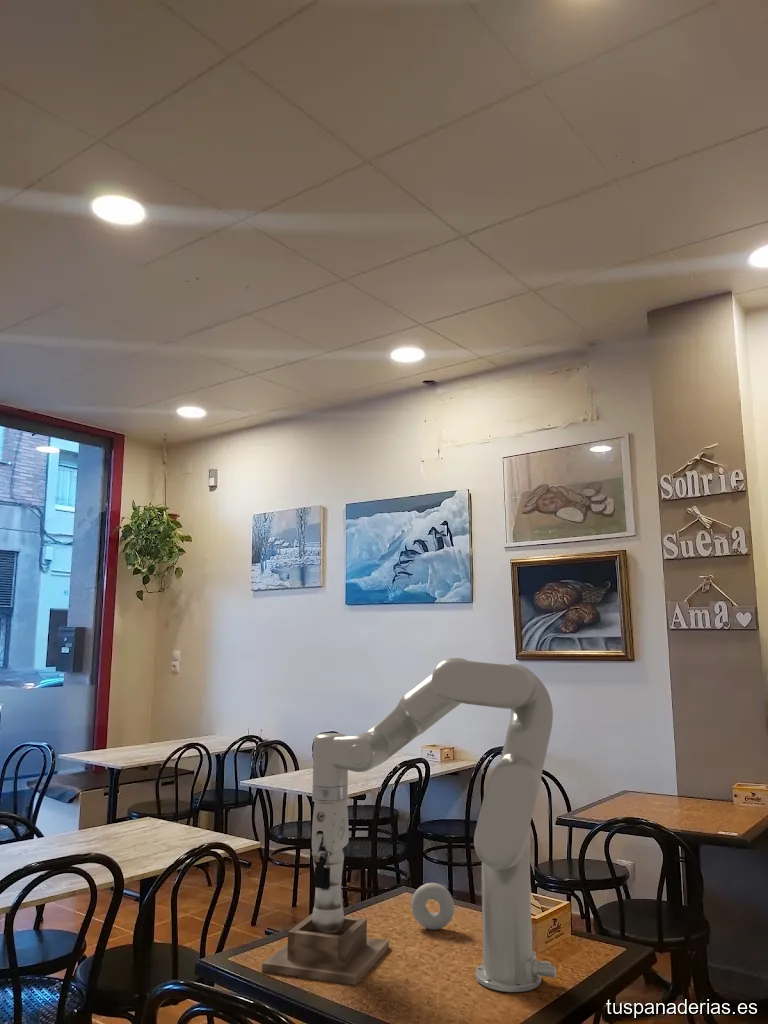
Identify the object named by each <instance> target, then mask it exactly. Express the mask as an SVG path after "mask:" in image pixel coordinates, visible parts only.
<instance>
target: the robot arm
mask: <svg viewBox="0 0 768 1024" xmlns="http://www.w3.org/2000/svg"><path fill="white" fill-rule="evenodd" d="M551 699H552V698H551V696H550V694H549V691H548V689H547V688H546V685H545V684H544V683H543V682H542V680H541V679H540V678H539V677H538V675H536V673H534V672H533V671H531V670H530V669H529V668H527V667H525V666H523V665H521V664H515V663H510V664H504V663H503V664H502V663H494V662H493V663H491V662H482V661H472V660H467V659H465V658H462V657H453V658H452V657H451V658H447V659H443V660H442V661H440V662H439V663H438V664H437V665H436V666H435V668H434V669H433V671H432V673H431V674H429V675H428V676H427V677H426V678H425V679H423V680H422V681H421V682H419V683H418V684H417V685H416V686H415V687H413V688H412V689H410V690H409V691H408V692H406V693H405V694H403V696H402V697H401V698H400V700H399V702H398V703H397V705H396V707H395V708H394V709H393V710H392V711H391V712H390V713H389V714H388V715H387V716H386V717H384V718H383V719H382V720H380V721H379V722H378V723H377V724H376V725H374V726H373V727H372V728H370V729H369V730H368V731H366V732H362V733H359V734H356V735H350V736H346V735H345V734H343V733H338V732H324V733H319V734H316V736H315V737H314V739H313V751H312V752H313V753H312V755H313V757H312V758H313V759H312V761H313V762H312V797H311V799H312V802H314V804H313V814H312V824H311V850H312V851H311V855H312V860H313V859H314V861H313V868H314V867H315V871H314V887H316V888H324V889H328V888H329V887H330V868H329V867H328V865H329V859H330V853H331V854H334V853H336V852H337V851H339V850H340V849H342V851H343V850H344V848H345V847H346V846H348V844H349V840H350V839H349V838H350V836H349V835H350V833H349V832H350V831H349V807H348V793H349V792H348V791H349V790H348V786H349V785H348V783H349V777H348V776H349V772H350V771H351V772H355V773H364V772H365V773H366V772H368V771H370V770H372V769H374V768H376V767H378V766H381V765H382V764H383V763H385V762H386V761H387V760H389V759H390V758H391V757H393V756H394V755H395V754H396V753H397V752H399V751H400V750H401V749H403V748H404V747H405V746H407V745H408V744H409V743H411V742H412V741H413V740H414V739H415V738H417V737H419V736H420V735H422V734H424V733H425V732H426V731H427V730H428V729H430V728H431V727H432V726H434V725H435V724H436V723H438V722H439V721H440V720H441V719H442V718H444V717H445V716H446V715H448V714H449V713H450V712H452V711H453V710H454V709H456V708H457V707H459V706H460V705H461V704H463V705H465V704H466V705H473V706H479V707H481V706H482V707H489V708H498V709H507V710H510V720H509V724H508V727H507V731H506V736H505V739H504V740H505V741H504V745H503V748H502V752H501V755H500V758H499V760H498V762H497V764H496V765H495V766H494V767H493V769H492V770H491V772H490V775H489V777H488V781H487V783H486V787H485V790H484V795H483V799H482V803H481V807H480V810H479V815H478V819H477V822H476V827H475V830H474V836H473V845H474V846H473V847H474V850H475V853H476V855H477V857H478V858H479V859H480V861H481V916H482V920H481V923H482V927H481V928H482V959H483V960H482V962H483V963H482V964H480V965H478V966H477V968H476V969H475V972H474V973H475V980H476V981H477V982H478V983H479V984H480V985H482V986H483V987H484V988H485V987H486V988H488V989H490V990H495V991H496V992H497V991H499V992H504V993H523V992H529V991H532V990H534V989H536V988H538V987H539V986H540V984H541V983H542V976H544V977H546V978H547V977H548V978H554V979H556V977H557V968H556V965H552V963H551V961H543V960H542V961H541V960H540V959H538V958H537V956H536V955H537V953H536V951H533V936H532V934H533V933H532V907H531V906H532V905H531V903H532V902H531V893H532V892H531V891H532V890H531V834H530V833H531V832H530V827H531V823H532V818H533V814H534V810H535V807H536V801H537V798H538V796H539V793H540V790H541V785H542V777H543V770H544V765H545V762H546V757H547V753H548V749H549V748H548V747H549V743H550V738H551V735H552V734H551V732H552V728H553V727H552V726H553V720H554V719H553V716H554V712H553V704H552V700H551ZM321 848H324V849H326V850H327V851H321ZM321 855H326V856H325V860H324V858H323V856H321ZM316 888H315V889H316Z"/></svg>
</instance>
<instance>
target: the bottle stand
mask: <svg viewBox="0 0 768 1024" xmlns="http://www.w3.org/2000/svg"><path fill="white" fill-rule="evenodd" d="M312 914H313V912H312V913H311V914H309V915H308V916H307V917H305V918H304V919H303V920H302V921H300V922H299V923H298V924H296V925H295V926H294V927H292V928H291V929H290V930H289V931H287V943H286V944H284V945H283V946H282V947H280V948H279V949H277V951H276V952H274V953H272V955H271V956H269V957H268V958H267V959H265V960H264V961H263V962H262V963H261V972H262V973H268V972H270V973H269V974H275V973H278V974H277V975H282V974H285V975H284V976H289V975H291V976H290V977H296V976H297V977H299V978H303V979H310V980H316V979H318V981H323V980H326V981H325V982H330V981H334V982H333V983H337V982H340V983H339V984H344V983H345V985H351V984H353V985H352V986H357V985H358V984H357V983H360V982H361V980H362V979H363V978H364V977H365V976H366V975H365V974H368V972H369V971H370V970H371V969H372V968H373V967H372V966H375V964H376V963H377V962H378V961H379V960H380V959H381V958H382V957H383V955H384V954H385V953H386V952H387V951H388V950H389V949H390V939H389V940H387V939H380V938H373V937H372V938H371V937H368V935H367V930H368V927H367V923H368V922H367V920H368V919H367V918H362V917H354V916H352V917H351V916H345V915H344V922H343V926H342V928H341V929H340V930H339V931H337V932H332V933H323V932H318V931H316V930H315V928H314V926H313V922H312ZM388 948H389V949H388ZM387 949H388V950H387ZM380 957H381V958H380ZM379 958H380V959H379ZM378 959H379V960H378ZM371 967H372V968H371ZM364 975H365V976H364ZM363 976H364V977H363ZM297 977H296V978H297ZM362 977H363V978H362ZM361 978H362V979H361ZM356 984H357V985H356Z"/></svg>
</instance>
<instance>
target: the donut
mask: <svg viewBox="0 0 768 1024" xmlns="http://www.w3.org/2000/svg"><path fill="white" fill-rule="evenodd" d="M431 899H433V900H435V901H437V902H438V904H439V910H438V911H437V912H430V911H429V910H428V908H427V902H428V901H429V900H431ZM410 906H411V913H412V915H413V917H414V919H415V920H416V921H417V922H418V924H419V925H420V926H422V927H424V928H425V929H426V930H427V929H428V930H432V931H434V930H436V931H437V930H441V929H443V928H444V927H445V928H446V926H447V925H448V924H449V923H450V922H451V920H452V919H453V916H454V915H455V901H454V898H453V897H452V894H451V892H450V891H449V890H448V889H447V888H446V887H445V886H444V885H442V884H440V883H436V882H426V883H424V884H423V885H420V886H419V887H418V888H417V889H416V890H415V891H414V893H413V895H412V899H411V905H410Z"/></svg>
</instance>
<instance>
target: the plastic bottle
mask: <svg viewBox="0 0 768 1024" xmlns="http://www.w3.org/2000/svg"><path fill="white" fill-rule="evenodd" d="M321 851H327V850H326V849H324V848H321ZM321 856H323V858H324V860H325V856H326V855H321ZM344 860H345V855H344V851H343V850H342V849H340V850H339V851H337V852H336V853H334V854H331V853H330V859H329V865H328V867H329V868H330V887H329V888H328V889H324V888H316V887H315V886H314V887H315V892H314V893H315V894H314V902H313V903H314V906H313V907H312V908H313V909H312V913H313V914H312V913H311V914H312V922H313V926H314V928H315V930H316V931H318V932H323V933H332V932H337V931H339V930H340V929H341V928H342V926H343V922H344V916H345V913H344V912H345V911H344V908H343V900H342V899H343V898H342V881H343V880H342V879H343V869H344ZM312 861H313V862H314V859H313V858H312ZM313 870H314V872H315V867H314V866H313Z"/></svg>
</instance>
